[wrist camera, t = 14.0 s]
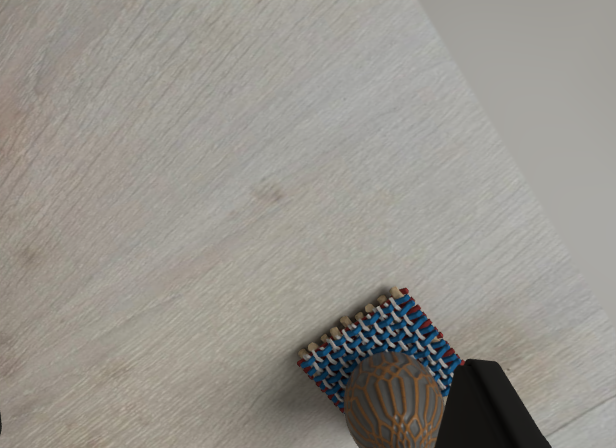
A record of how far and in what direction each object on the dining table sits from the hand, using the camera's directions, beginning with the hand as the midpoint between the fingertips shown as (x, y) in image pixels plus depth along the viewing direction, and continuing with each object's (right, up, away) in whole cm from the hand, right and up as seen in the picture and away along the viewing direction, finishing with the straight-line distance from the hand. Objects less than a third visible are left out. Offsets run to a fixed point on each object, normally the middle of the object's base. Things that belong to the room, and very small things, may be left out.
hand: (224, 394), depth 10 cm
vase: (+8, -8, +28) cm, 30 cm away
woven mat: (+8, -7, +30) cm, 32 cm away
